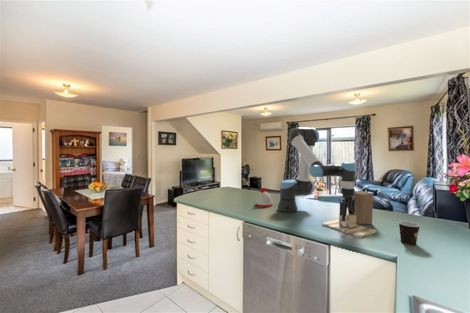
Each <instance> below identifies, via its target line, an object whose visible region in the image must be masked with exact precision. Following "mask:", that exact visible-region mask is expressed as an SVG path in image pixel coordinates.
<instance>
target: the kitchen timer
mask: <svg viewBox="0 0 470 313" xmlns="http://www.w3.org/2000/svg"><path fill="white" fill-rule="evenodd" d="M259 191H260V193H259V194H258V195H257V198H256V200H255V206H257V207H260V208H270V207H271V208H272V206H273V199H272V197H271V195H270V193H268V192H269V189H268V188H266V187H261V188H260V189H259Z"/></svg>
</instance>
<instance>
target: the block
mask: <svg viewBox="0 0 470 313" xmlns="http://www.w3.org/2000/svg"><path fill="white" fill-rule="evenodd" d="M353 197H355V213H354V215H356V225H360V226H363V225H364V226H365V225H371V224H372V223H373V211H374V210H373V207H374V206H373V205H374V194H373V193H372V192H367V191H363V190H355V194H354V195H353ZM352 215H353V214H352Z"/></svg>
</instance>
